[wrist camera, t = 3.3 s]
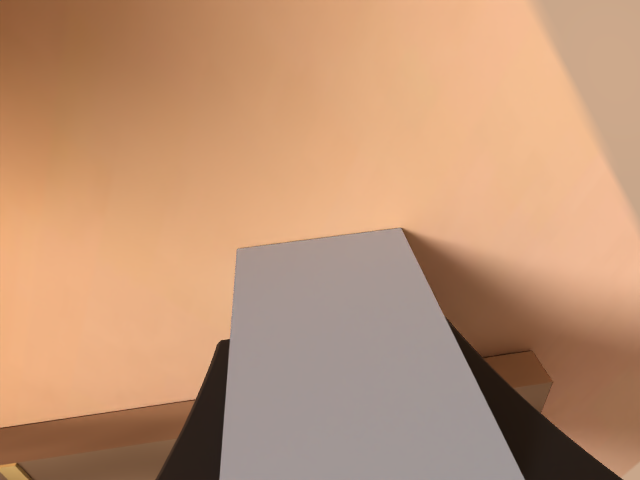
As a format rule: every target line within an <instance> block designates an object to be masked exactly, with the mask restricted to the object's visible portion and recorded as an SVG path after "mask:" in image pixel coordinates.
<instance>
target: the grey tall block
mask: <svg viewBox="0 0 640 480" xmlns="http://www.w3.org/2000/svg"><path fill="white" fill-rule="evenodd" d="M219 480H525V479H524V477H523V475H522V473H521V471H520V469H519V467H518V465H517V463H516V461H515V459H514V457H513V455H512V453H511V451H510V449H509V447H508V445H507V443H506V441H505V438H504V436H503V434H502V432H501V430H500V428H499V426H498V424H497V422H496V420H495V418H494V416H493V414H492V412H491V410H490V408H489V406H488V404H487V402H486V400H485V398H484V396H483V394H482V392H481V390H480V388H479V386H478V384H477V382H476V380H475V377H474V375H473V373H472V371H471V369H470V367H469V365H468V363H467V361H466V359H465V357H464V355H463V353H462V351H461V349H460V347H459V345H458V343H457V341H456V339H455V337H454V335H453V333H452V331H451V329H450V327H449V325H448V323H447V321H446V319H445V316H444V314H443V312H442V310H441V308H440V306H439V304H438V302H437V300H436V298H435V296H434V294H433V292H432V290H431V288H430V286H429V284H428V282H427V280H426V278H425V276H424V274H423V272H422V270H421V268H420V266H419V264H418V262H417V260H416V258H415V255H414V253H413V251H412V249H411V247H410V245H409V243H408V241H407V239H406V237H405V235H404V233H403V231H402V229H401V228H396V229H388V230H380V231H372V232H365V233H357V234H349V235H341V236H334V237H326V238H318V239H310V240H302V241H295V242H287V243H279V244H271V245H264V246H256V247H248V248H240V249H237V255H236V268H235V281H234V294H233V307H232V321H231V334H230V347H229V360H228V373H227V387H226V400H225V413H224V426H223V439H222V453H221V466H220V479H219Z"/></svg>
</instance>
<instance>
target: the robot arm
mask: <svg viewBox="0 0 640 480" xmlns="http://www.w3.org/2000/svg"><path fill="white" fill-rule="evenodd" d="M445 319H446V321H447V323H448V325H449V327H450V329H451V331H452V333H453V335H454V337H455V339H456V341H457V343H458V345H459V347H460V349H461V351H462V353H463V355H464V357H465V359H466V361H467V363H468V365H469V367H470V369H471V371H472V373H473V375H474V377H475V380H476V382H477V384H478V386H479V388H480V390H481V392H482V394H483V396H484V398H485V400H486V402H487V404H488V406H489V408H490V410H491V412H492V414H493V416H494V418H495V420H496V422H497V424H498V426H499V428H500V430H501V432H502V434H503V436H504V438H505V441H506V443H507V445H508V447H509V449H510V451H511V453H512V455H513V457H514V459H515V461H516V463H517V465H518V467H519V469H520V471H521V473H522V475H523V477H524V479H525V480H623V479H621V478H620V477H619V476H617V475H616V474H615V473H614V472H612V471H611V470H610V469H608V468H607V467H606V466H604V465H603V464H602V463H600V462H599V461H598V460H596V459H595V458H594V457H593V456H591V455H590V454H589V453H587V452H586V451H585V450H584V449H583V448H581V447H580V446H579V445H578V444H576V443H575V442H574V441H573V440H571V439H570V438H569V437H568V436H566V435H565V434H564V433H563V432H562V431H560V430H559V429H558V428H557V427H556V426H555V425H553V424H552V423H551V422H550V421H549V420H548V419H547V418H545V417H544V416H543V415H542V414H541V413H540V412H539V411H538V410H536V409H535V408H534V407H533V406H532V405H531V404H530V403H529V402H528V401H526V400H525V399H524V398H523V397H522V396H521V395H520V394H519V393H518V392H517V391H516V390H515V389H514V388H513V387H512V386H510V385H509V384H508V383H507V382H506V381H505V380H504V379H503V378H502V377H501V376H500V375H499V374H498V373H497V372H496V371H495V370H494V369H493V368H492V367H491V366H490V365H489V364H488V363H487V362H486V361H485V360H484V359H483V358H482V357H481V356H480V354H479V353H478V352H477V351H476V350H475V349H474V348H473V347H472V346H471V345H470V344H469V343H468V342H467V341H466V340H465V338H464V337H463V336H462V335H461V334H460V333H459V332H458V331H457V330H456V329H455V327H454V326H453V325H452V324H451V323H450V322H449V321H448V320H447V318H446V317H445ZM229 347H230V339H227V340H221V341H220V342H219V343H218V344H217V347H216V350H215V353H214V356H213V358H212V361H211V364H210V366H209V369H208V372H207V374H206V377H205V379H204V381H203V384H202V386H201V389H200V391H199V393H198V396H197V398H196V400H195V402H194V404H193V406H192V409H191V411H190V413H189V415H188V417H187V419H186V422H185V424H184V426H183V428H182V430H181V432H180V434H179V436H178V438H177V440H176V442H175V444H174V446H173V447H172V449H171V451H170V453H169V455H168V457H167V459H166V461H165V463H164V465H163V466H162V468H161V470H160V472H159V474H158V476H157V477H156V479H155V480H219V479H220V466H221V453H222V439H223V426H224V413H225V400H226V387H227V373H228V360H229Z"/></svg>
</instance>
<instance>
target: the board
mask: <svg viewBox="0 0 640 480" xmlns="http://www.w3.org/2000/svg"><path fill="white" fill-rule="evenodd" d="M483 359H484V360H485V361H486V362H487V363H488V364H489V365H490V366H491V367H492V368H493V369H494V370H495V371H496V372H497V373H498V374H499V375H500V376H501V377H502V378H503V379H504V380H505V381H506V382H507V383H508V384H509V385H510V386H512V387H513V388H514V389H515V390H516V391H517V392H518V393H519V394H520V395H521V396H522V397H523V398H524V399H525V400H526V401H528V402H529V403H530V404H531V405H532V406H533V407H534V408H535V409H536V410H538V411H539V412H540V413H541V411H542V409H543V406H544V403H545V401H546V398H547V396H548V393H549V391H550V388H551V386H552V383H553V381H552V380H551V378H550V377H549V375H548V374H547V372H546V371H545V369H544V368H543V366H542V365H541V363H540V362H539V360H538V359H537V357H536V356H535V354H534V353H533V351H528V352H521V353H514V354H507V355H500V356H493V357H487V358H483ZM194 402H195V400H193V401H186V402H179V403H172V404H166V405H159V406H152V407H145V408H138V409H132V410H125V411H118V412H111V413H104V414H97V415H91V416H84V417H77V418H70V419H63V420H56V421H50V422H43V423H36V424H29V425H22V426H15V427H9V428H2V429H0V480H155V479H156V477H157V476H158V474H159V472H160V470H161V468H162V466H163V465H164V463H165V461H166V459H167V457H168V455H169V453H170V451H171V449H172V447H173V446H174V444H175V442H176V440H177V438H178V436H179V434H180V432H181V430H182V428H183V426H184V424H185V422H186V419H187V417H188V415H189V413H190V411H191V409H192V406H193V404H194Z"/></svg>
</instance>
